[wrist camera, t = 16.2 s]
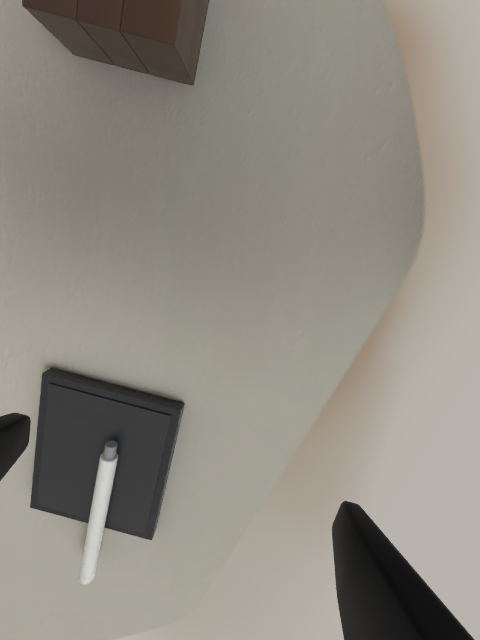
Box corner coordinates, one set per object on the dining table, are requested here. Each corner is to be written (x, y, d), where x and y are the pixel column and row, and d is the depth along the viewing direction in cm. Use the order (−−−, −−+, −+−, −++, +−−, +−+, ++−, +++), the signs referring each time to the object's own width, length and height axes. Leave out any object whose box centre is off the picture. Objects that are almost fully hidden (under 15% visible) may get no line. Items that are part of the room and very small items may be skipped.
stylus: (113, 452, 22) (87, 587, 25) (124, 442, 23) (98, 573, 26) (98, 445, 22) (75, 580, 25) (110, 436, 23) (86, 566, 26)
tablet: (184, 402, 23) (180, 410, 22) (155, 529, 26) (151, 541, 25) (51, 367, 23) (41, 373, 22) (38, 497, 26) (29, 508, 25)
